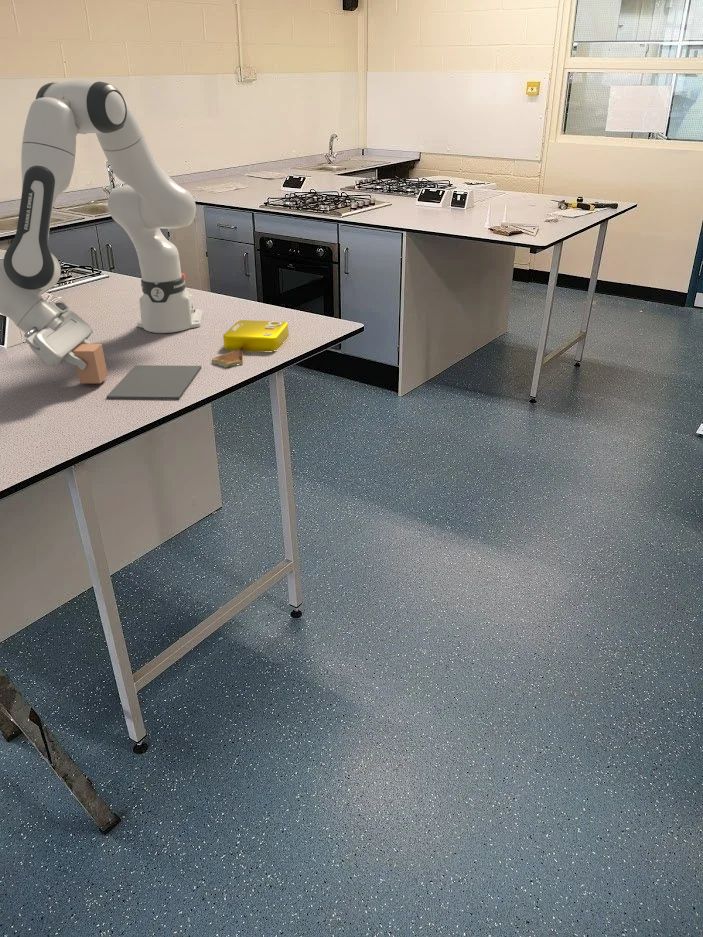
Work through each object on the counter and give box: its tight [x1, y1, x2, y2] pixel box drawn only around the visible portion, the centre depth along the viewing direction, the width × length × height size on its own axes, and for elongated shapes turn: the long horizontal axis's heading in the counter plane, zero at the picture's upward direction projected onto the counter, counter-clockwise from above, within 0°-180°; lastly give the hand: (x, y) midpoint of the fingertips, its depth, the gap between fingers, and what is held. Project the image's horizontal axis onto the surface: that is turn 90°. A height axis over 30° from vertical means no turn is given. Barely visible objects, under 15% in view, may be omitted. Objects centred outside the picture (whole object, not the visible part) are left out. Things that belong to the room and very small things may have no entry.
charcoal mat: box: [106, 364, 202, 400], centre depth 174 cm, size 20×17×1 cm
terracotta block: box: [72, 343, 109, 384], centre depth 172 cm, size 5×5×8 cm
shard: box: [211, 348, 244, 368], centre depth 187 cm, size 11×8×2 cm
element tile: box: [222, 319, 290, 352], centre depth 198 cm, size 15×15×5 cm
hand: (91, 361), depth 172 cm, fingers closed on terracotta block, 5 cm apart
